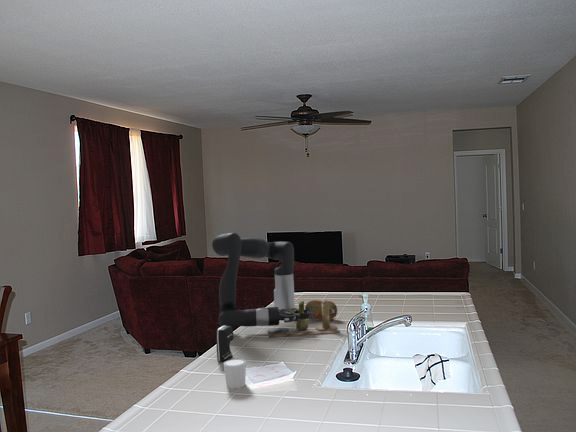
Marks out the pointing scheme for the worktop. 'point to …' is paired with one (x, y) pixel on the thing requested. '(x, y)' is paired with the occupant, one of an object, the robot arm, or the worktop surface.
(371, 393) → the worktop surface
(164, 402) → the worktop surface
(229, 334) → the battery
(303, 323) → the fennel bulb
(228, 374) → the white cup
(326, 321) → the brown long irregular piece
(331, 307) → the tin
